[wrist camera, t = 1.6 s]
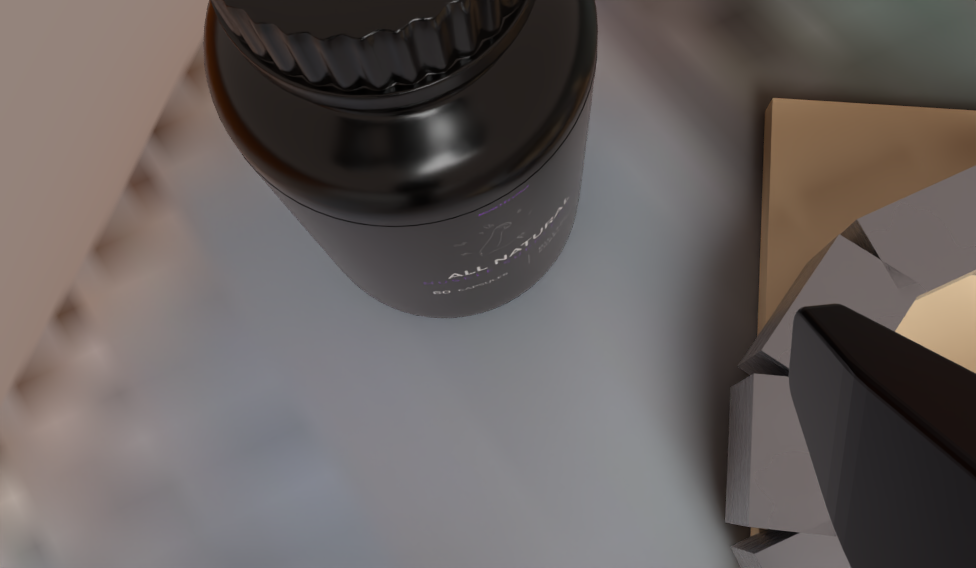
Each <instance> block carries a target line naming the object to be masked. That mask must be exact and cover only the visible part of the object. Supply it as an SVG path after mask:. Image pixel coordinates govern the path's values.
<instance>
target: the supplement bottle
mask: <svg viewBox="0 0 976 568" xmlns="http://www.w3.org/2000/svg"><path fill="white" fill-rule="evenodd" d="M597 36H598V25H597V12H596V4H595V0H209V3H208V7H207V13H206V19H205V26H204V65H205V71H206V77H207V82H208V86H209V89H210V93H211V97H212V100H213V103H214V106H215V108H216V111H217V113H218V116H219V118H220V120H221V122H222V123H223V125H224V127H225V129H226V131H227V133H228V134H229V136H230V137H231V139H232V140H233V142H234V143H235V145H236V146H237V148H238V149H239V151H240V152H241V153H242V155H243V156H244V158H245V159H246V160H247V162H248V163H249V164H250V165H251V166H252V167H253V169H254V170H255V171H256V172H257V173H258V174H259V176H260V177H261V178H262V179H263V180H264V181H265V183H266V184H267V185H268V186H269V187H270V188H271V189H272V191H273V192H274V193H275V194H276V195H277V196H278V198H279V199H280V200H281V201H282V202H283V203H284V205H285V206H286V207H287V208H288V209H289V210H290V211H291V213H292V214H293V215H294V216H295V217H296V218H297V220H298V221H299V222H300V223H301V224H302V225H303V227H304V228H305V229H306V230H307V231H308V232H309V233H310V235H311V236H312V237H313V238H314V239H315V240H316V242H317V243H318V244H319V245H320V246H321V247H322V249H323V250H324V251H325V252H326V253H327V254H328V255H329V257H330V258H331V259H332V260H333V261H334V262H335V264H336V265H337V266H338V267H339V268H340V269H341V270H342V271H343V272H344V273H345V274H346V275H347V276H348V278H349V279H351V280H352V281H353V282H354V283H355V284H356V285H357V286H358V287H359V288H361V289H362V290H363V291H365V292H366V293H367V294H369V295H370V296H372V297H373V298H375V299H377V300H378V301H380V302H381V303H384V304H386V305H388V306H390V307H392V308H394V309H397V310H400V311H403V312H406V313H410V314H414V315H418V316H424V317H431V318H457V317H464V316H471V315H475V314H479V313H483V312H486V311H489V310H492V309H495V308H497V307H499V306H501V305H504V304H506V303H508V302H510V301H511V300H513V299H515V298H516V297H518V296H520V295H521V294H522V293H524V292H525V291H527V290H528V289H529V288H531V287H532V286H533V285H534V284H535V283H536V282H537V281H539V280H540V279H541V278H542V276H543V275H544V274H545V273H546V272H547V271H548V270H549V269H550V267H551V266H552V265H553V263H554V262H555V261H556V259H557V258H558V256H559V255H560V253H561V251H562V250H563V248H564V246H565V244H566V242H567V240H568V237H569V235H570V232H571V229H572V227H573V224H574V220H575V216H576V212H577V207H578V202H579V195H580V189H581V181H582V173H583V165H584V157H585V149H586V141H587V133H588V125H589V117H590V109H591V101H592V93H593V85H594V77H595V69H596V61H597Z"/></svg>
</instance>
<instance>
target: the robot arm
mask: <svg viewBox="0 0 976 568" xmlns="http://www.w3.org/2000/svg"><path fill="white" fill-rule="evenodd" d="M789 387H790V393H791V397H792V400H793V404H794V407H795V410H796V413H797V416H798V419H799V422H800V426H801V429H802V432H803V435H804V438H805V441H806V445H807V448H808V451H809V454H810V457H811V460H812V463H813V467H814V470H815V473H816V476H817V479H818V482H819V486H820V489H821V492H822V495H823V498H824V501H825V504H826V507H827V510H828V513H829V516H830V519H831V522H832V525H833V528H834V530H835V532H836V535H837V537H838V540H839V542H840V544H841V547H842V549H843V551H844V554H845V556H846V558H847V560H848V562H849V564H850V567H851V568H976V373H974V372H972V371H970V370H968V369H966V368H964V367H963V366H961V365H959V364H957V363H955V362H953V361H951V360H949V359H947V358H945V357H943V356H941V355H939V354H937V353H935V352H933V351H932V350H930V349H928V348H926V347H924V346H922V345H920V344H918V343H916V342H914V341H912V340H910V339H908V338H906V337H904V336H902V335H900V334H899V333H897V332H895V331H893V330H891V329H889V328H887V327H885V326H883V325H881V324H879V323H877V322H875V321H873V320H871V319H869V318H868V317H866V316H864V315H862V314H860V313H858V312H856V311H854V310H852V309H850V308H848V307H846V306H844V305H842V304H836V303H834V304H824V305H815V306H805V307H801V308H800V309H799V310H798V311H797V312H796V314H795V317H794V320H793V329H792V341H791V352H790V364H789Z"/></svg>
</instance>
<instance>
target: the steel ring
mask: <svg viewBox="0 0 976 568" xmlns="http://www.w3.org/2000/svg"><path fill="white" fill-rule="evenodd" d="M970 275H976V165H975V166H973V167H971V168H969V169H967V170H964V171H962V172H960V173H958V174H956V175H953V176H951V177H949V178H947V179H945V180H942V181H940V182H938V183H936V184H934V185H931V186H929V187H927V188H925V189H922V190H920V191H918V192H916V193H914V194H911V195H909V196H907V197H905V198H903V199H900V200H898V201H896V202H894V203H892V204H889V205H887V206H885V207H883V208H881V209H878V210H876V211H874V212H872V213H869V214H867V215H865V216H863V217H861V218H858V219H857V220H855V221H854V222H853V223H852V224H851V225H850V226H849V227H848V228H847V229H845V230H844V231H843V232H842V233H841V234H839V235H838V236H836V237H835V238H834V239H833V240H832V241H831V242H830V243H829V244H828V245H826V246H825V247H824V248H823V249H822V250H821V251H820V252H819V253H818V254H816V255H815V256H814V257H813V258H812V259H811V260H810V261H809V262H808V263H807V264H806V265H805V266H804V268H803V269H802V271H801V272H800V274H799V275H798V277H797V278H796V280H795V281H794V283H793V284H792V286H791V287H790V289H789V290H788V292H787V293H786V295H785V296H784V298H783V299H782V301H781V302H780V304H779V305H778V307H777V308H776V310H775V311H774V313H773V314H772V316H771V317H770V319H769V320H768V322H767V323H766V325H765V326H764V328H763V329H762V330H761V332H760V333H759V335H758V336H757V338H756V339H755V341H754V342H753V344H752V345H751V347H750V348H749V350H748V351H747V353H746V354H745V356H744V357H743V359H742V360H741V362H740V363H739V365H738V366H737V367H739V368H740V369H742V370H743V371H745V372H746V373H748V374H749V375H751V376H749V377H747V378H745V379H744V380H742V381H740V382H739V383H737V384H735V385H733V386H732V387H731V389H730V414H729V438H728V462H727V487H726V511H725V523H730V524H736V525H741V526H747V527H755V528H764V529H766V530H764V531H762V532H760V533H757V534H755V535H753V536H751V537H749V538H747V539H745V540H742V541H740V542H738V543H736V544H734V545H732V546H730V547H731V549H732V551H733V553H734V555H735V557H736V559H737V561H738V563H739V565H740V567H741V568H851V567H850V564H849V562H848V560H847V558H846V556H845V554H844V551H843V549H842V547H841V544H840V542H839V540H838V537H837V535H836V532H835V530H834V528H833V525H832V522H831V519H830V516H829V513H828V510H827V507H826V504H825V501H824V498H823V495H822V492H821V489H820V486H819V482H818V479H817V476H816V473H815V470H814V467H813V463H812V460H811V457H810V454H809V451H808V448H807V445H806V441H805V438H804V435H803V432H802V429H801V426H800V422H799V419H798V416H797V413H796V410H795V407H794V404H793V400H792V397H791V393H790V387H789V364H790V352H791V341H792V329H793V320H794V317H795V314H796V312H797V311H798V310H799V309H800V308H801V307H805V306H815V305H824V304H834V303H836V304H842V305H844V306H846V307H848V308H850V309H852V310H854V311H856V312H858V313H860V314H862V315H864V316H866V317H868V318H869V319H871V320H873V321H875V322H877V323H879V324H881V325H883V326H885V327H887V328H889V329H891V330H893V331H896V329H897V327H898V326H899V324H900V323H901V321H902V320H903V318H904V317H905V315H906V313H907V312H908V310H909V309H910V307H911V306H912V304H913V303H914V301H916V300H918V299H920V298H922V297H925V296H927V295H929V294H931V293H933V292H935V291H938V290H940V289H942V288H944V287H946V286H949V285H951V284H953V283H955V282H957V281H960V280H962V279H964V278H966V277H968V276H970Z"/></svg>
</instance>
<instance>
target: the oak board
mask: <svg viewBox="0 0 976 568" xmlns="http://www.w3.org/2000/svg"><path fill="white" fill-rule="evenodd" d="M975 165H976V111H974V110H958V109H942V108H926V107H910V106H894V105H878V104H862V103H847V102H831V101H815V100H799V99H783V98H772V100H771V102H770V104H769V105H768V107H767V109H766V111H765V128H764V157H763V186H762V215H761V244H760V274H759V303H758V332H757V336H758V335H759V333H760V332H761V330H762V329H763V328H764V326H765V325H766V323H767V322H768V320H769V319H770V317H771V316H772V314H773V313H774V311H775V310H776V308H777V307H778V305H779V304H780V302H781V301H782V299H783V298H784V296H785V295H786V293H787V292H788V290H789V289H790V287H791V286H792V284H793V283H794V281H795V280H796V278H797V277H798V275H799V274H800V272H801V271H802V269H803V268H804V266H805V265H806V264H807V263H808V262H809V261H810V260H811V259H812V258H813V257H814V256H815V255H816V254H818V253H819V252H820V251H821V250H822V249H823V248H824V247H825V246H826V245H828V244H829V243H830V242H831V241H832V240H833V239H834V238H835V237H836V236H838V235H839V234H841V233H842V232H843V231H844V230H845V229H847V228H848V227H849V226H850V225H851V224H852V223H853V222H854V221H855V220H857V219H858V218H861V217H863V216H865V215H867V214H869V213H872V212H874V211H876V210H878V209H881V208H883V207H885V206H887V205H889V204H892V203H894V202H896V201H898V200H900V199H903V198H905V197H907V196H909V195H911V194H914V193H916V192H918V191H920V190H922V189H925V188H927V187H929V186H931V185H934V184H936V183H938V182H940V181H942V180H945V179H947V178H949V177H951V176H953V175H956V174H958V173H960V172H962V171H964V170H967V169H969V168H971V167H973V166H975ZM895 332H897V333H899V334H900V335H902V336H904V337H906V338H908V339H910V340H912V341H914V342H916V343H918V344H920V345H922V346H924V347H926V348H928V349H930V350H932V351H933V352H935V353H937V354H939V355H941V356H943V357H945V358H947V359H949V360H951V361H953V362H955V363H957V364H959V365H961V366H963V367H964V368H966V369H968V370H970V371H972V372H974V373H976V275H970V276H968V277H966V278H964V279H962V280H960V281H957V282H955V283H953V284H951V285H949V286H946V287H944V288H942V289H940V290H938V291H935V292H933V293H931V294H929V295H927V296H925V297H922V298H920V299H918V300H916V301H914V303H913V304H912V306H911V307H910V309H909V310H908V312H907V313H906V315H905V317H904V318H903V320H902V321H901V323H900V324H899V326H898V327H897V329H896V331H895ZM764 530H766V529H764V528H755V527H751V536H753V535H755V534H757V533H760V532H762V531H764ZM751 536H750V537H751Z"/></svg>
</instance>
